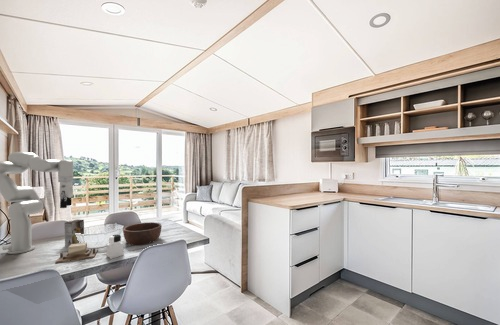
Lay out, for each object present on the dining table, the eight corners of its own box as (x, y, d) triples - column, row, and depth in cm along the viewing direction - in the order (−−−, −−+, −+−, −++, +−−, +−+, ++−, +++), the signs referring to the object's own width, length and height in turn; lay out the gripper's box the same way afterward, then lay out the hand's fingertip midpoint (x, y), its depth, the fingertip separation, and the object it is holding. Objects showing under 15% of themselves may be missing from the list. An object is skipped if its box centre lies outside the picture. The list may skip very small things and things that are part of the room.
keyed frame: (55, 263, 130) (55, 257, 130) (62, 255, 141) (62, 249, 141) (93, 257, 137) (93, 251, 137) (97, 250, 149) (97, 244, 149)
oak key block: (85, 254, 139) (85, 244, 139) (68, 257, 136) (68, 246, 136) (87, 252, 143) (86, 242, 143) (71, 254, 140) (70, 244, 140)
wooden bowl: (169, 237, 173) (169, 224, 173) (140, 249, 151) (140, 233, 151) (144, 234, 184) (144, 221, 184) (114, 244, 161) (114, 229, 161)
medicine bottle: (119, 252, 145) (118, 233, 145) (123, 255, 141) (123, 235, 141) (106, 255, 140) (106, 235, 140) (111, 258, 135) (110, 238, 135)
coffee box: (76, 241, 167) (76, 219, 167) (84, 242, 165) (84, 219, 165) (64, 246, 158) (64, 222, 158) (72, 246, 156) (72, 222, 156)
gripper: (69, 180, 141) (69, 208, 141) (76, 178, 157) (76, 204, 157) (53, 180, 138) (53, 209, 138) (62, 179, 154) (63, 205, 154)
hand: (65, 206), depth 148 cm, fingers open, 9 cm apart
